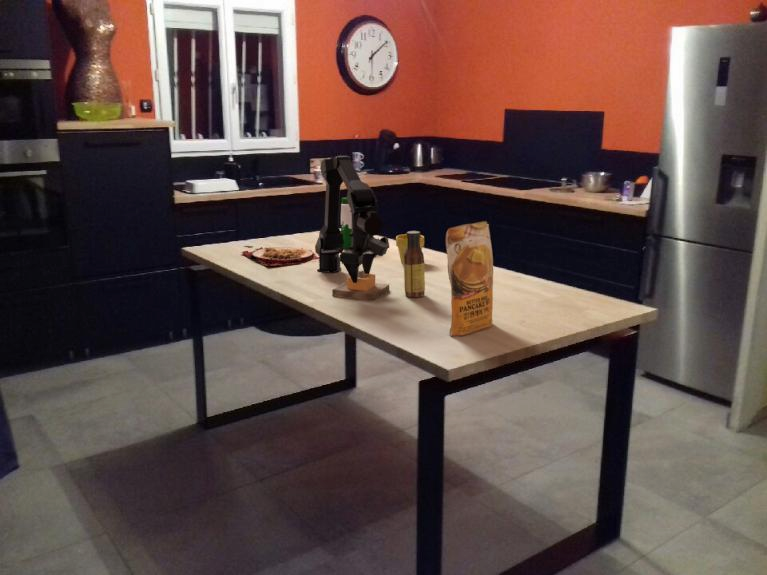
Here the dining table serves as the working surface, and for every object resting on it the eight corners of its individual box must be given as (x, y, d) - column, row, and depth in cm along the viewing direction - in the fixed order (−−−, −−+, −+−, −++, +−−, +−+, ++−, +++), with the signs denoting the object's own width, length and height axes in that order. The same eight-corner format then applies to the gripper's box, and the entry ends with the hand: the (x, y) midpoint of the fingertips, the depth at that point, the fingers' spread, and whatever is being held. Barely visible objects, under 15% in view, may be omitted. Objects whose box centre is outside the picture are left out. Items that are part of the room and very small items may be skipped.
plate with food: (268, 270, 247) (268, 261, 246) (240, 254, 268) (240, 245, 267) (329, 263, 260) (329, 253, 259) (298, 248, 281) (298, 239, 280)
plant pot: (390, 261, 258) (390, 235, 255) (414, 258, 263) (414, 232, 260) (405, 267, 249) (405, 240, 247) (429, 264, 254) (429, 237, 252)
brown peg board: (332, 295, 214) (332, 273, 212) (348, 286, 225) (348, 264, 223) (374, 300, 209) (374, 278, 207) (389, 290, 220) (389, 269, 218)
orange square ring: (347, 288, 214) (347, 277, 214) (356, 283, 220) (356, 272, 219) (366, 290, 212) (366, 279, 211) (375, 285, 218) (375, 274, 217)
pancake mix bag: (434, 333, 181) (436, 227, 173) (483, 318, 193) (487, 218, 185) (453, 340, 176) (456, 231, 168) (502, 324, 188) (507, 222, 180)
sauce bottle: (427, 293, 216) (428, 230, 211) (421, 299, 211) (422, 234, 205) (406, 291, 218) (407, 229, 213) (400, 297, 213) (401, 233, 207)
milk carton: (342, 245, 285) (341, 196, 279) (364, 245, 284) (363, 196, 279) (340, 250, 276) (339, 199, 271) (363, 250, 276) (363, 199, 271)
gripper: (373, 237, 200) (373, 289, 204) (396, 226, 217) (396, 274, 221) (338, 234, 204) (339, 285, 208) (364, 223, 221) (364, 271, 225)
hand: (361, 279), depth 216 cm, fingers open, 9 cm apart
